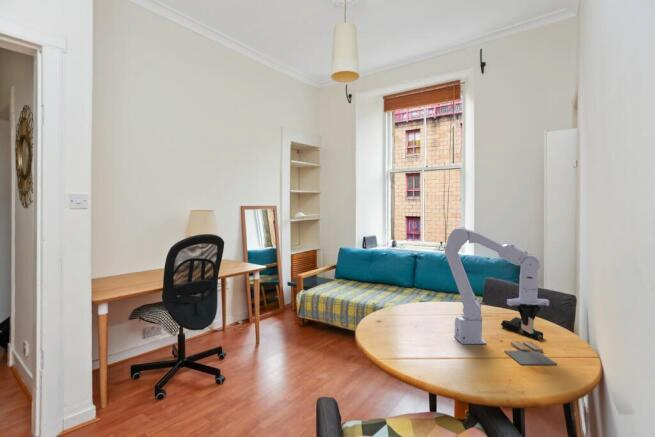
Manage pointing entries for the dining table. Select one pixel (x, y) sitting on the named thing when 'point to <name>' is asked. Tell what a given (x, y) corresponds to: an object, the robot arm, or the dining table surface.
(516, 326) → the handgun
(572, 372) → the dining table surface
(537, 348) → the tile rack
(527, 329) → the tile
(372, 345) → the dining table surface
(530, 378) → the dining table surface
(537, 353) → the mat
